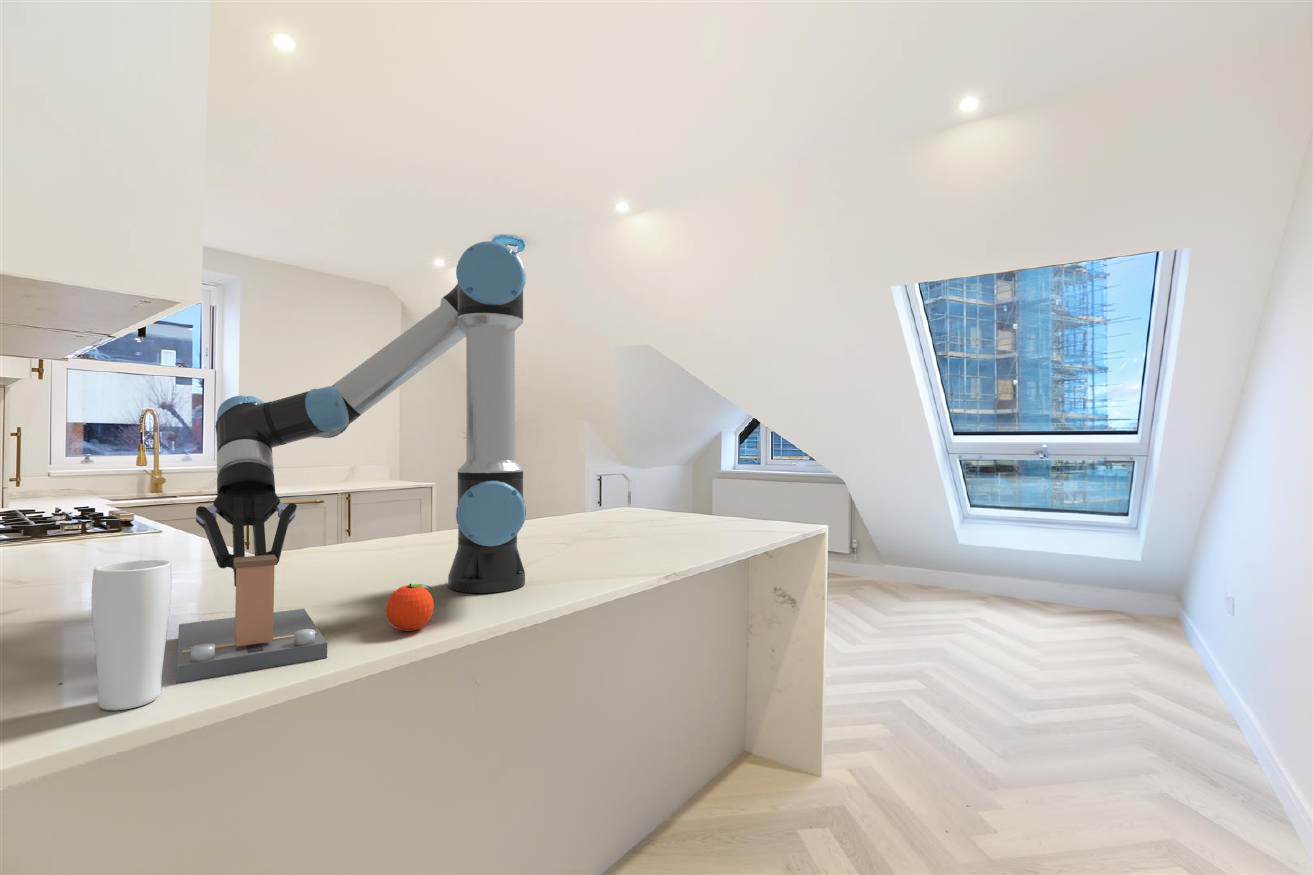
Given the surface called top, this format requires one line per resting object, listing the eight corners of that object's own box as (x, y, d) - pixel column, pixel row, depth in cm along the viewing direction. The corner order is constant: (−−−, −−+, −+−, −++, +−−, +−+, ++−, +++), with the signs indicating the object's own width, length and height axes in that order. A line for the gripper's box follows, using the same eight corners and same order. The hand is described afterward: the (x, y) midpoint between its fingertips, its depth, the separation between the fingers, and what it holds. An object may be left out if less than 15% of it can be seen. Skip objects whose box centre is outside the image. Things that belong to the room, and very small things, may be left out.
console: (303, 621, 101) (304, 599, 101) (327, 657, 84) (327, 631, 84) (178, 637, 92) (179, 613, 92) (176, 683, 75) (177, 653, 75)
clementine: (420, 619, 103) (421, 576, 103) (448, 627, 99) (449, 581, 99) (375, 631, 96) (376, 584, 96) (404, 640, 93) (405, 591, 93)
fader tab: (272, 633, 86) (274, 554, 86) (275, 641, 83) (277, 558, 83) (231, 639, 84) (233, 557, 84) (233, 647, 80) (235, 562, 81)
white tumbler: (76, 707, 68) (80, 566, 68) (150, 686, 74) (153, 557, 74) (106, 720, 65) (110, 573, 65) (181, 697, 71) (184, 563, 71)
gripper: (291, 490, 105) (303, 613, 92) (194, 492, 98) (191, 627, 84) (296, 459, 101) (309, 583, 88) (195, 459, 93) (193, 595, 80)
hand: (252, 604), depth 86 cm, fingers closed
